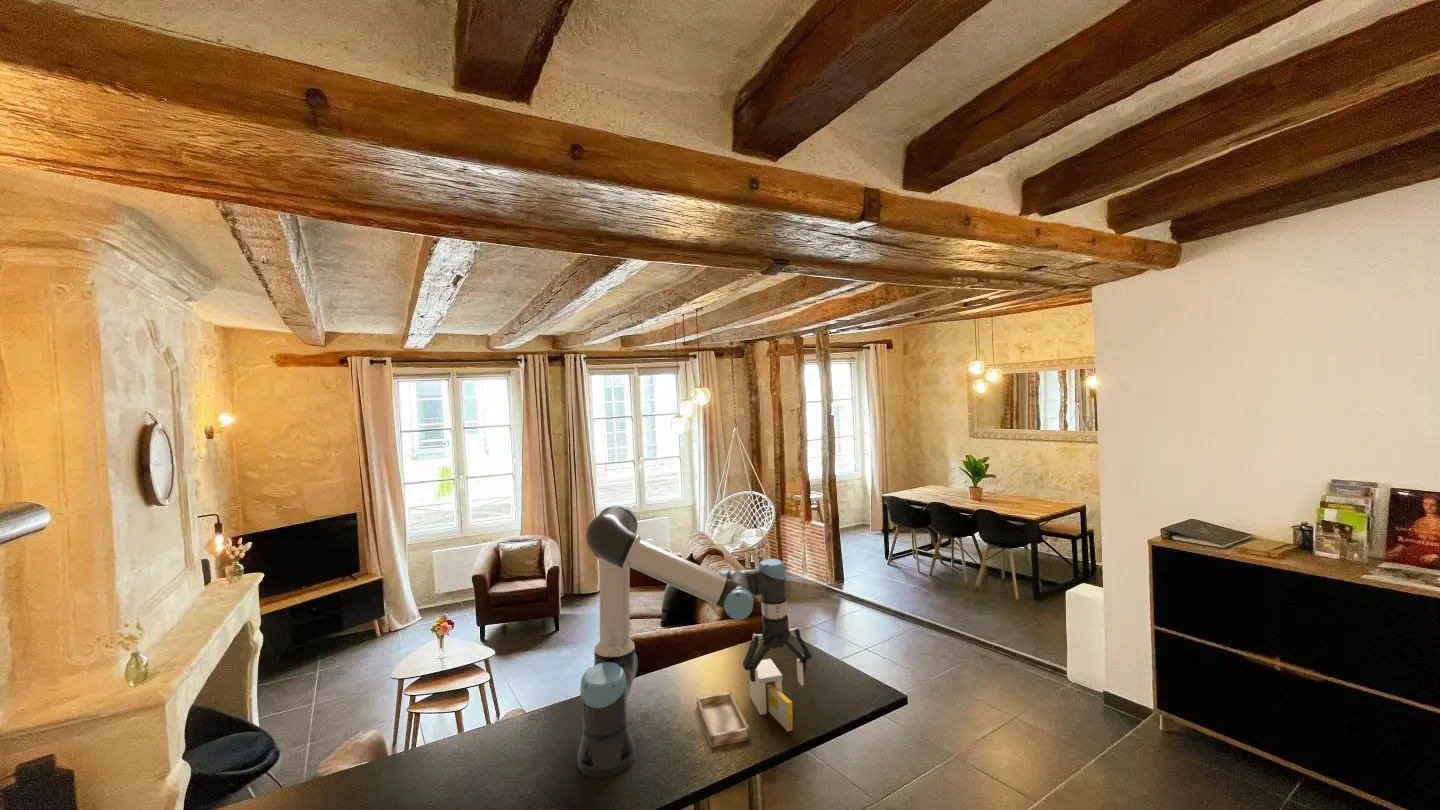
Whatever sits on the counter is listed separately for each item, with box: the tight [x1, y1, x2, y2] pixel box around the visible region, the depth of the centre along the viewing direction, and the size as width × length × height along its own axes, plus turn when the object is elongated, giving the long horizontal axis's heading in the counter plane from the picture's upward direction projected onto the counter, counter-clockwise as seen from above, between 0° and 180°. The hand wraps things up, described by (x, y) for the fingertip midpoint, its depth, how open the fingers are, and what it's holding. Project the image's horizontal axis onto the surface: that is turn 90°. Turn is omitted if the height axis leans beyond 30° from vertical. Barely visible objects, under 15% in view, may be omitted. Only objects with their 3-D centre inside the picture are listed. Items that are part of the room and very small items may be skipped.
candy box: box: [765, 682, 793, 733], centre depth 166 cm, size 16×2×8 cm, turn 24°
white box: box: [748, 658, 784, 716], centre depth 172 cm, size 7×11×11 cm, turn 14°
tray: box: [696, 691, 751, 748], centre depth 164 cm, size 11×20×3 cm, turn 14°
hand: (778, 687), depth 161 cm, fingers open, 13 cm apart
